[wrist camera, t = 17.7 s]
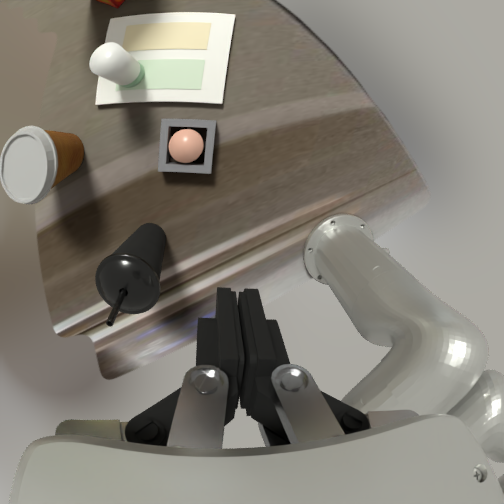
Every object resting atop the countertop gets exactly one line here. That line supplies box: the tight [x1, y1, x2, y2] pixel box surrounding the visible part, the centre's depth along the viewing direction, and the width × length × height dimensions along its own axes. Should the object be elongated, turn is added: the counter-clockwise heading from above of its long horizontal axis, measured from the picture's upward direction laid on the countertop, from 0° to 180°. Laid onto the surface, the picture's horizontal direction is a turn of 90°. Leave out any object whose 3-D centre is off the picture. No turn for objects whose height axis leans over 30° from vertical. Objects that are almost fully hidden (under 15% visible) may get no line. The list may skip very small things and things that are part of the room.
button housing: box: [158, 119, 216, 174], centre depth 34 cm, size 7×7×2 cm
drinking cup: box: [95, 223, 166, 326], centre depth 31 cm, size 8×8×20 cm
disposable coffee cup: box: [0, 126, 84, 204], centre depth 27 cm, size 10×10×12 cm
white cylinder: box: [89, 42, 144, 88], centre depth 24 cm, size 4×4×9 cm
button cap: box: [169, 129, 204, 163], centre depth 33 cm, size 4×4×2 cm
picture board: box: [95, 12, 235, 105], centre depth 28 cm, size 18×14×1 cm
